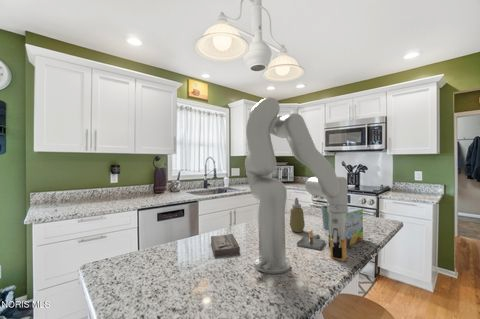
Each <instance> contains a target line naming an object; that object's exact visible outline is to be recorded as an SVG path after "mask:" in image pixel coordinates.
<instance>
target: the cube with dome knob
mask: <svg viewBox="0 0 480 319" xmlns="http://www.w3.org/2000/svg"><path fill="white" fill-rule="evenodd" d="M337 239H339V238H338V237H337ZM337 242H339V241H337ZM329 248H330V259H334V260H340V261H343V262H345V261H346V259H347V253H348V252H347V247H346V238H345V240H344V241H342V240H341V248H342V259H340V258H334V257H333V239H330V247H329Z"/></svg>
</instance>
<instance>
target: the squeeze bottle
mask: <svg viewBox="0 0 480 319" xmlns="http://www.w3.org/2000/svg"><path fill="white" fill-rule="evenodd" d="M294 198H295V199H294V203H292V205H291V206H292V208H290V216H289V226H290V230H291V231H292V232H294V233H302V232H303V231H304V230H305V226H306V224H305V216H304V215H305V214H304V209H303V208H302V204H300V202H299V199H298V197H294Z"/></svg>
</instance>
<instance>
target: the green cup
mask: <svg viewBox="0 0 480 319" xmlns="http://www.w3.org/2000/svg"><path fill="white" fill-rule="evenodd" d="M328 213H329V212H327V205H322V206H321V217H322V226H323V229H324V230H327V231H329V214H328Z"/></svg>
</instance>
